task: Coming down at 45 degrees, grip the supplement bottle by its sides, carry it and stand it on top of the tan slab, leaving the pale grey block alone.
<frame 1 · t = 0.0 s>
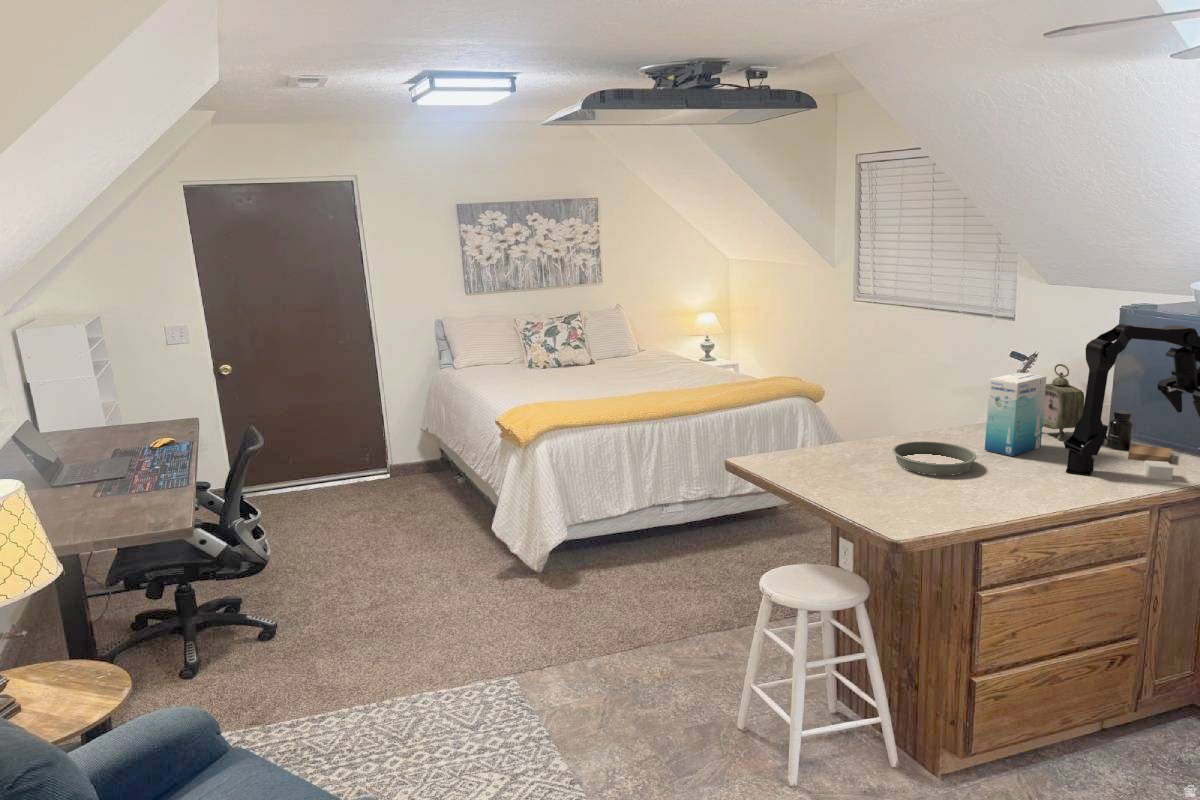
hand: (1191, 415, 269), 15 cm above the table, tool pointing down, fingers open, 9 cm apart
tan slab: (1149, 456, 281), on the table
supplement bottle: (1118, 448, 292), on the table
toothbrush box: (1012, 449, 293), on the table
grey block: (1157, 477, 263), on the table
tabletop clock: (1056, 436, 307), on the table
cake pan: (932, 466, 278), on the table
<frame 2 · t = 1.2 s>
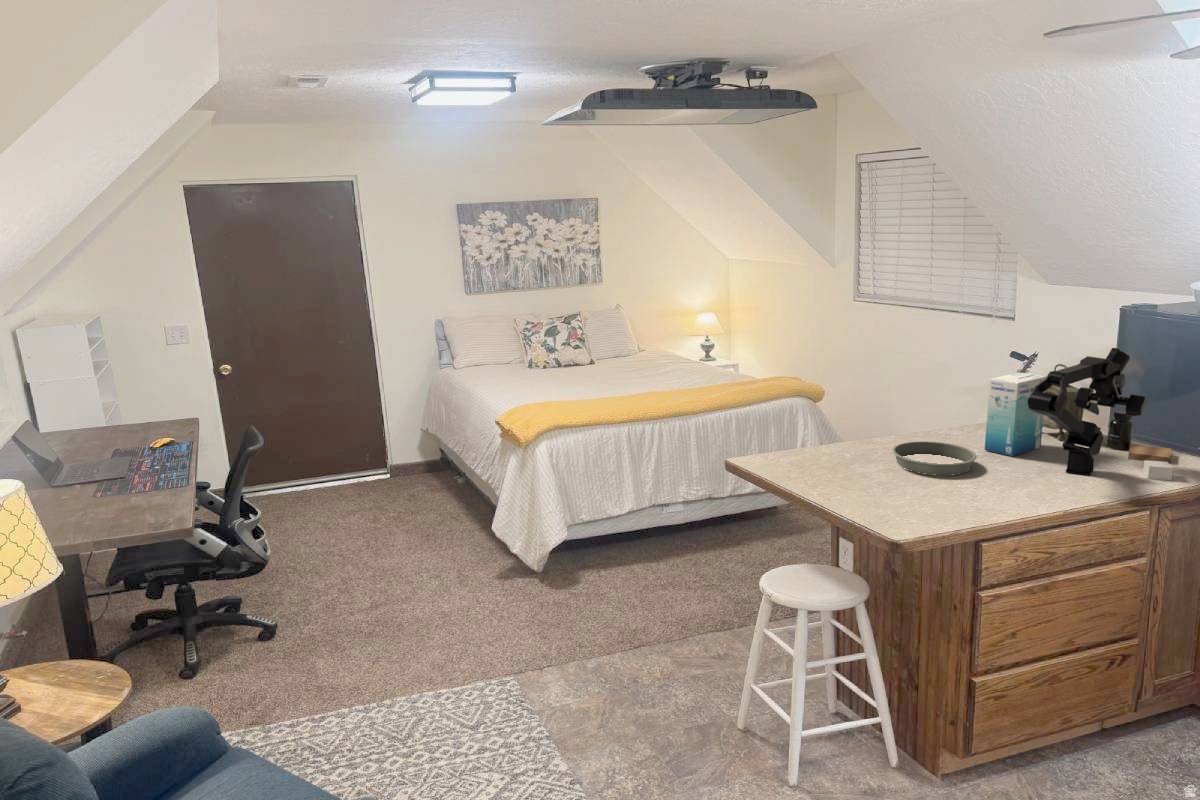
hand: (1114, 416, 278), 13 cm above the table, tool tilted 45°, fingers open, 9 cm apart
nothing on the table moved.
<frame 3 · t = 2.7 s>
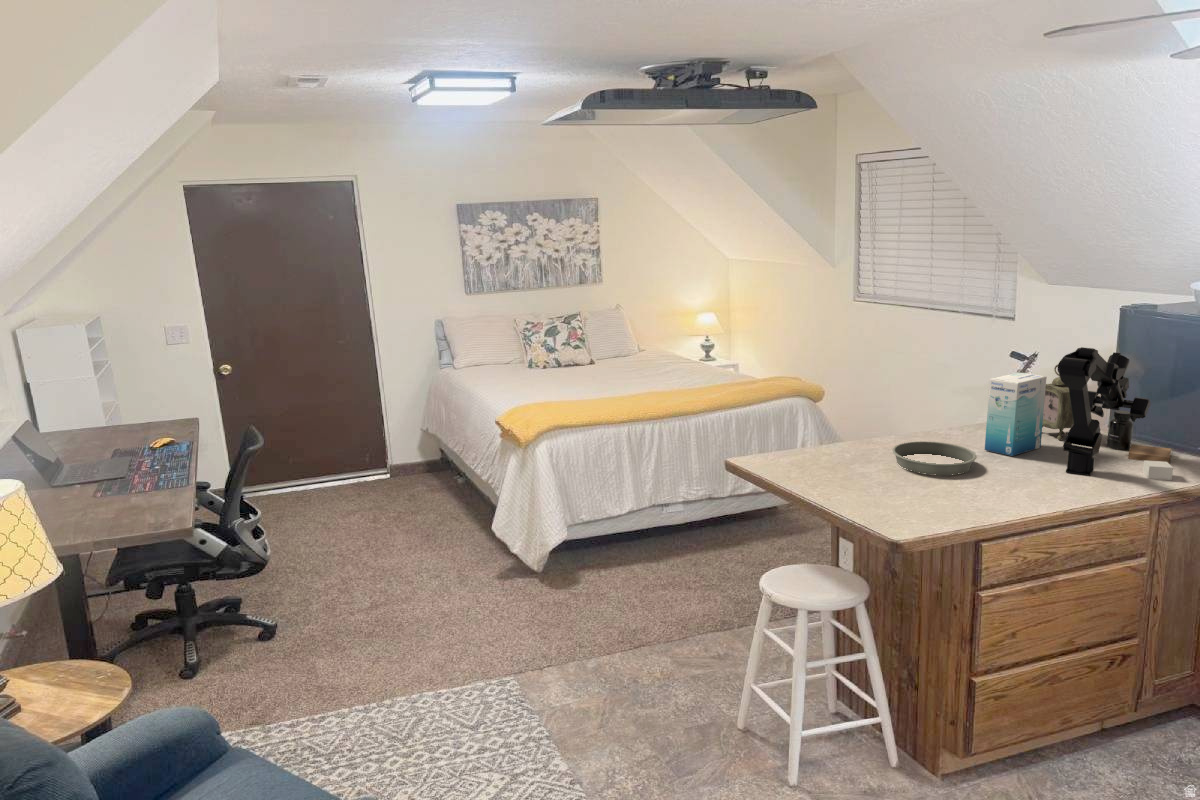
hand: (1118, 418, 287), 11 cm above the table, tool tilted 45°, fingers open, 9 cm apart
nothing on the table moved.
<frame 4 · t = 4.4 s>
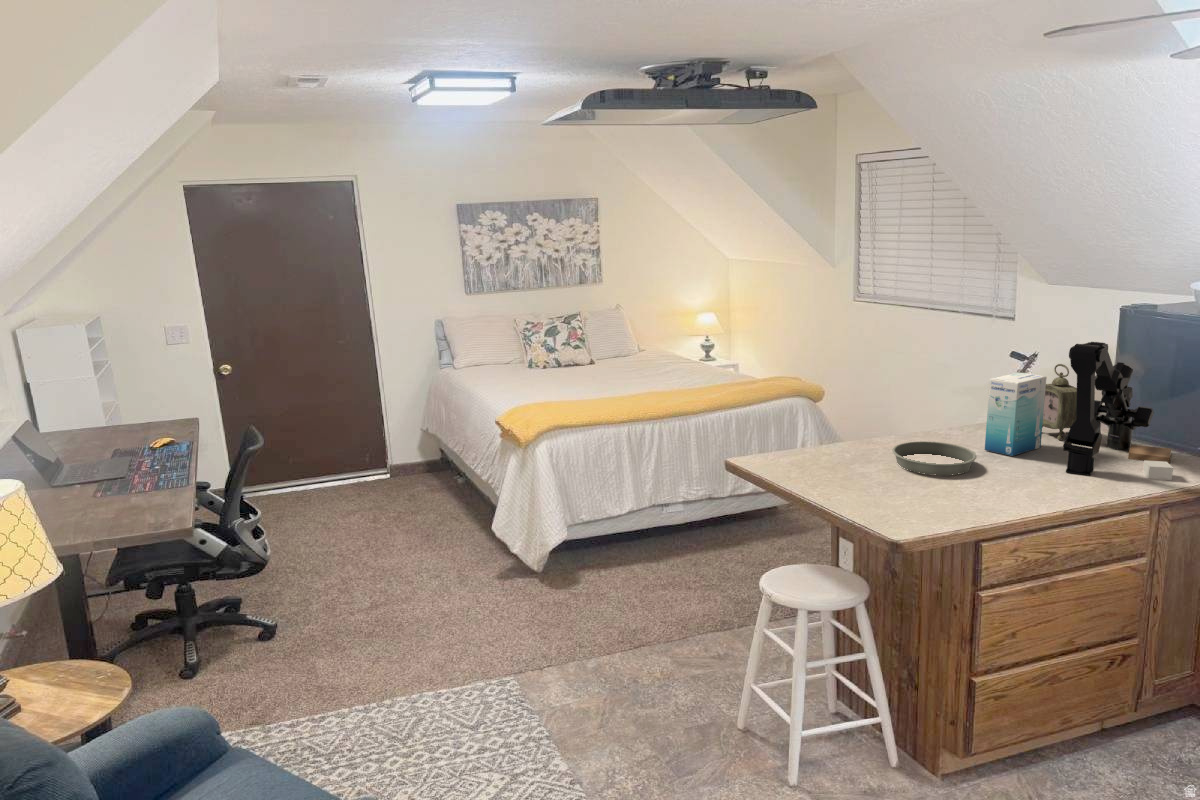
hand: (1122, 427, 291), 7 cm above the table, tool tilted 45°, fingers closed on supplement bottle, 7 cm apart
supplement bottle: (1118, 448, 292), on the table, touching gripper
everything else where it was.
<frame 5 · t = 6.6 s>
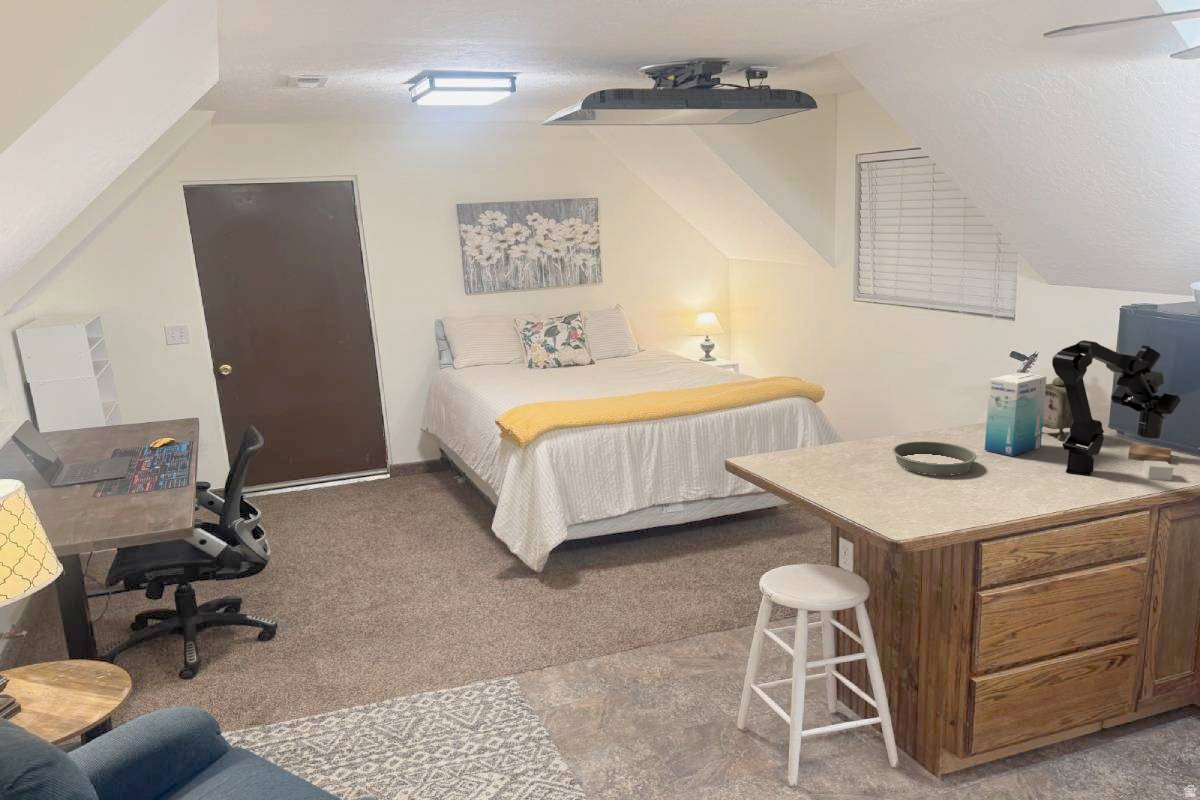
hand: (1154, 415, 280), 13 cm above the table, tool tilted 45°, fingers closed on supplement bottle, 7 cm apart
supplement bottle: (1148, 436, 281), point 6 cm above the table, touching gripper
everything else where it was.
when the fingers open (9 cm above the table, at t = 9.0 s): supplement bottle stays where it is, resting on tan slab.
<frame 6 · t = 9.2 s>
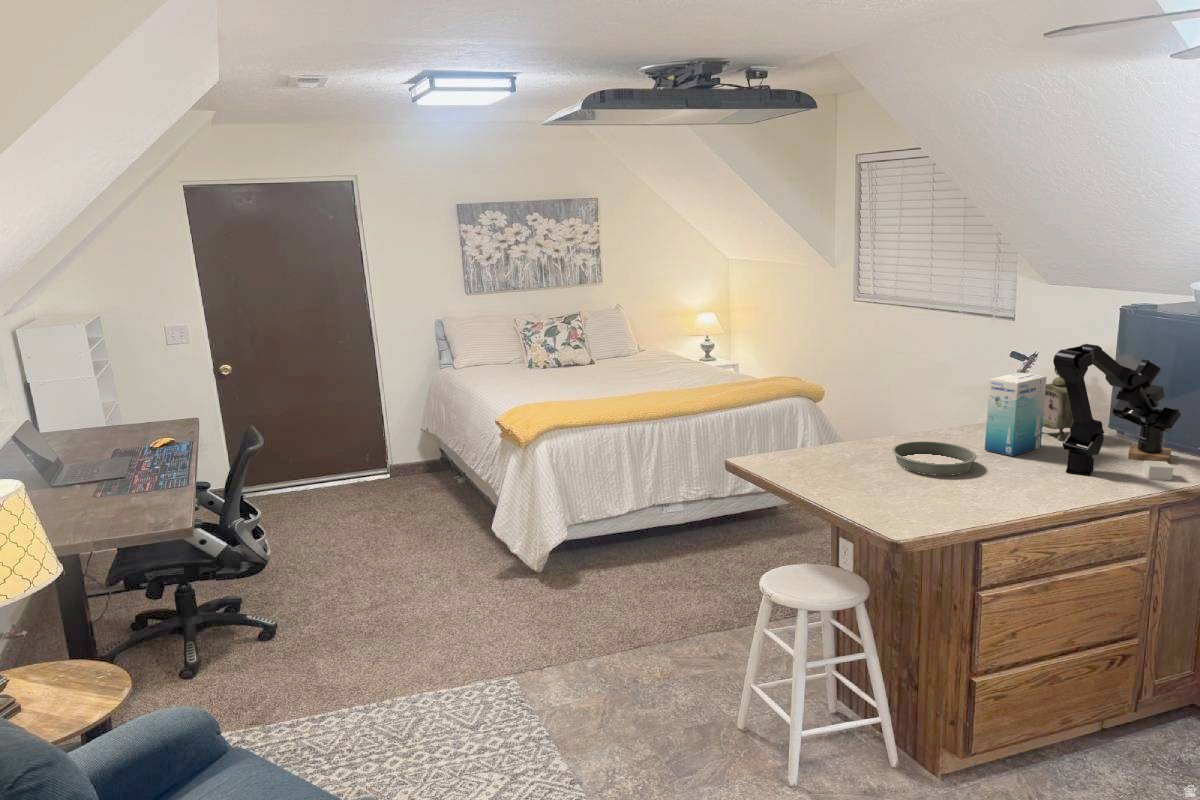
hand: (1155, 428, 280), 9 cm above the table, tool tilted 45°, fingers open, 9 cm apart
supplement bottle: (1149, 451, 281), point 2 cm above the table, touching tan slab
everything else where it was.
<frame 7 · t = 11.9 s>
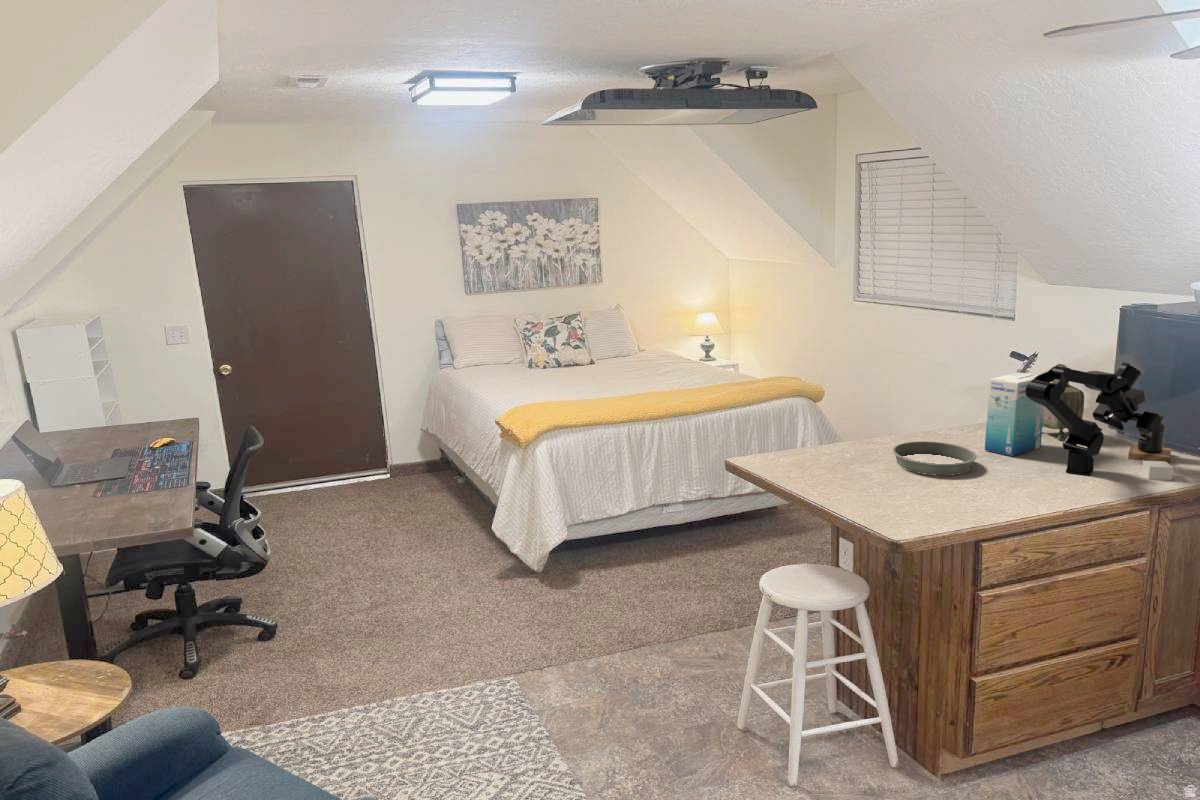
hand: (1136, 432, 276), 9 cm above the table, tool tilted 45°, fingers open, 9 cm apart
nothing on the table moved.
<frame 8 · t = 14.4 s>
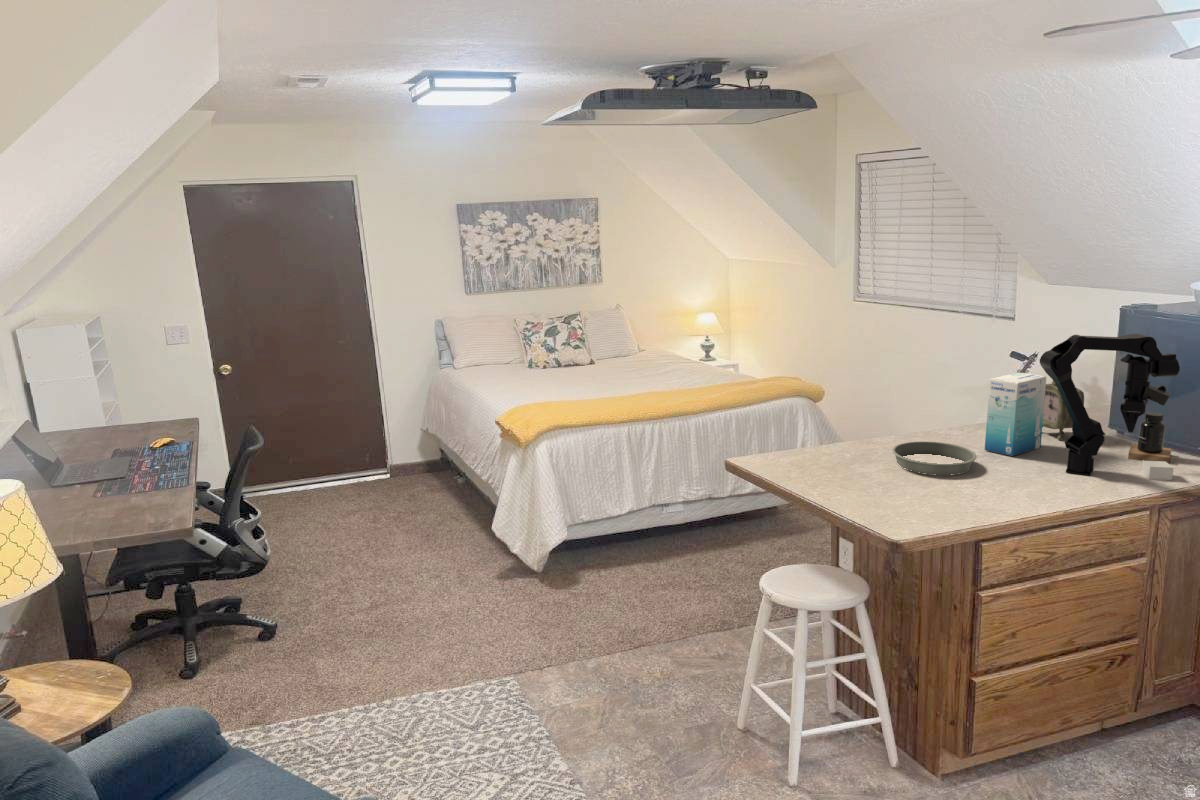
hand: (1131, 428, 266), 13 cm above the table, tool pointing down, fingers open, 9 cm apart
nothing on the table moved.
at the end: supplement bottle inside the target area on the tan slab (0.2 cm from its centre), point 1.8 cm above the tan slab's base; supplement bottle tilted 0°; the gripper is holding nothing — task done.
